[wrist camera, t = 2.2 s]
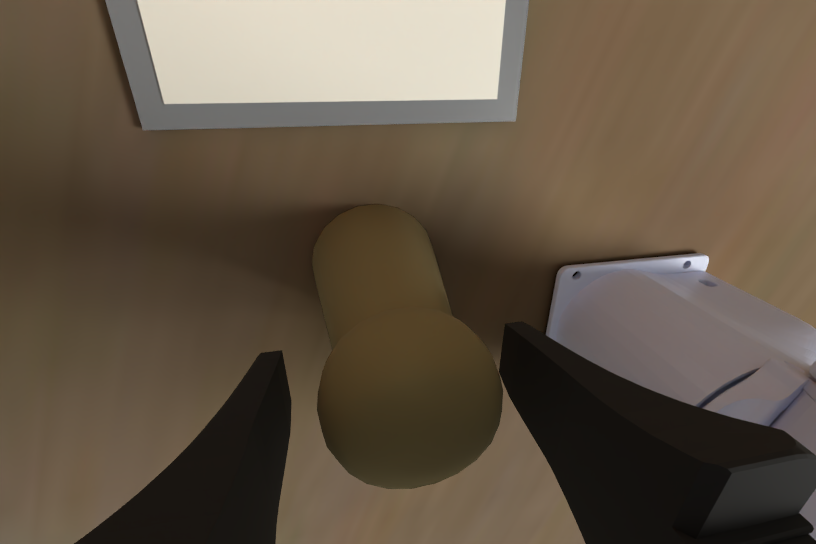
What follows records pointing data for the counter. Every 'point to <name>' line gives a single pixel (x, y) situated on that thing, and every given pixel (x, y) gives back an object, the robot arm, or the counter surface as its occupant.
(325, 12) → the notepad
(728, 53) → the counter surface
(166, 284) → the counter surface
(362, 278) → the cork
